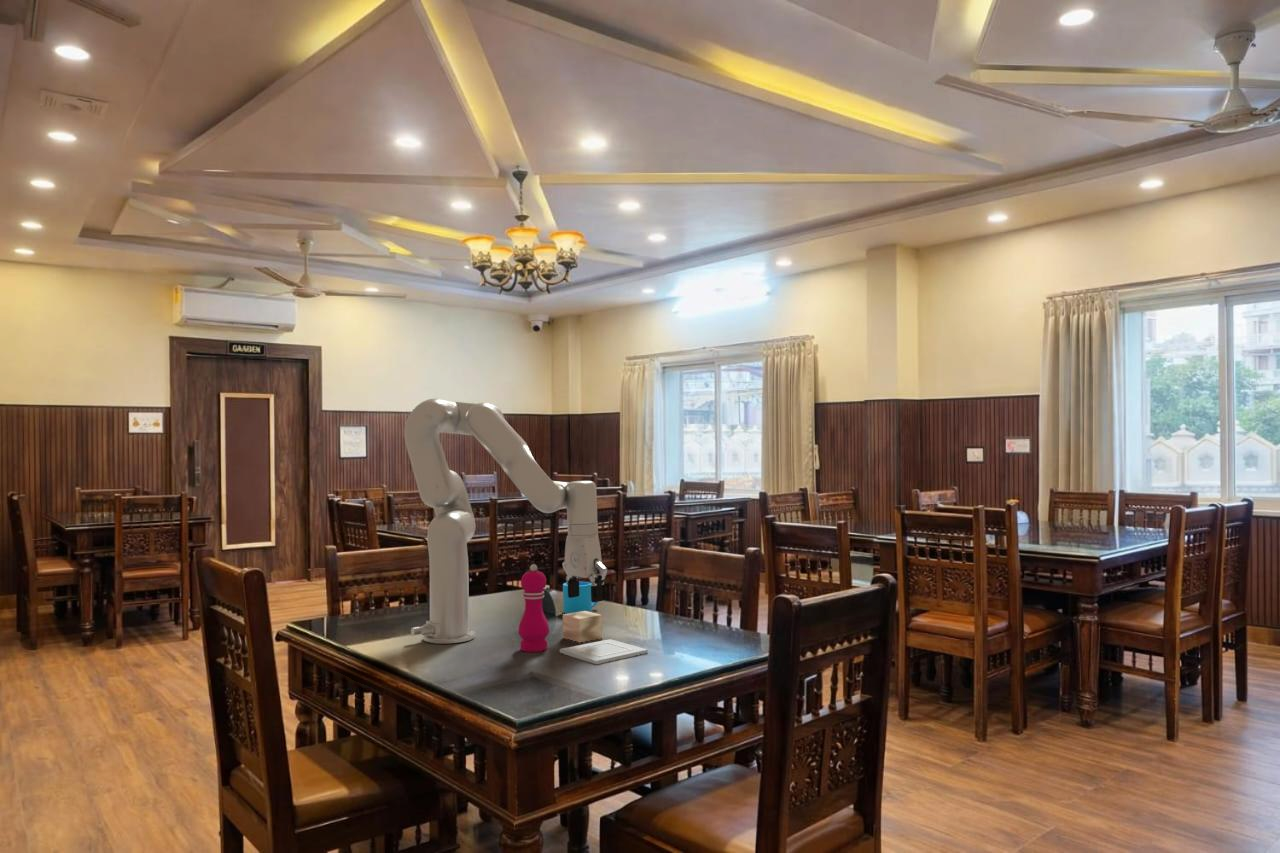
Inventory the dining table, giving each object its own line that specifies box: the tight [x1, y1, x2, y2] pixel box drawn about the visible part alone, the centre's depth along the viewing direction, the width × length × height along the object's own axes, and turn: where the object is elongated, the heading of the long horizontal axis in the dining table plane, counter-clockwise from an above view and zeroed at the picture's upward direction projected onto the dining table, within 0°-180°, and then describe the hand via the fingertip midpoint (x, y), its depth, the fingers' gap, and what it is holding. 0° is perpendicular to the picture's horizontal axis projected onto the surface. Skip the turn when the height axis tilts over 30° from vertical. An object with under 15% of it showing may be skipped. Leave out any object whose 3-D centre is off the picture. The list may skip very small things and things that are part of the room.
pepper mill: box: [518, 563, 550, 653], centre depth 200 cm, size 7×7×20 cm
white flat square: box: [559, 638, 649, 665], centre depth 196 cm, size 15×14×1 cm
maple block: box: [562, 611, 603, 644], centre depth 211 cm, size 7×7×6 cm
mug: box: [562, 581, 599, 614], centre depth 244 cm, size 12×8×8 cm
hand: (585, 599), depth 211 cm, fingers open, 9 cm apart
